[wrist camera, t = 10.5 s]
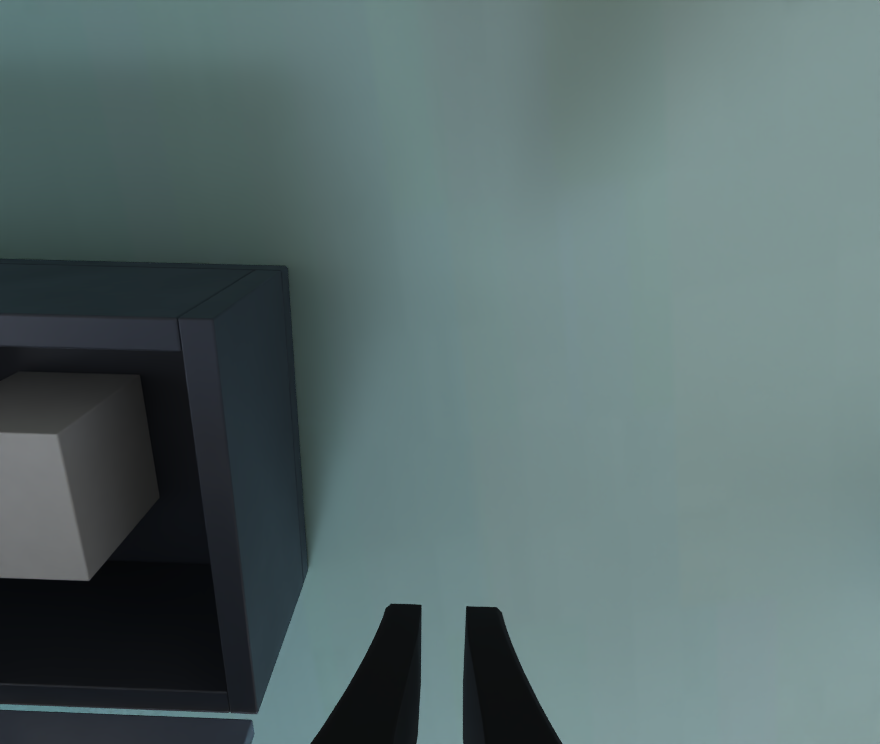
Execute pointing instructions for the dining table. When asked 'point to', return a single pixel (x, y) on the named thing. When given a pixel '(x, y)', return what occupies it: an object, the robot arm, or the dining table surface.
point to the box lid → (119, 729)
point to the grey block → (71, 471)
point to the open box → (168, 487)
